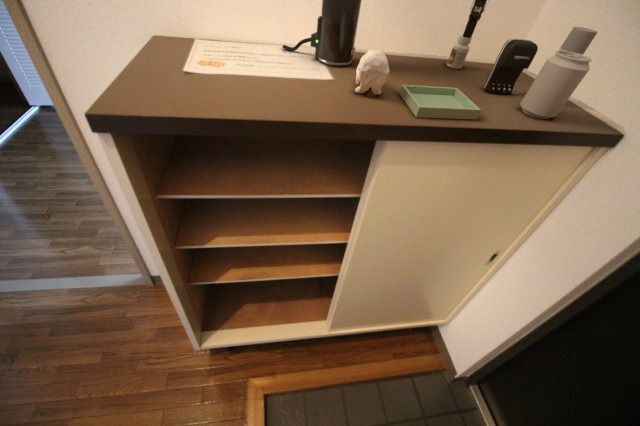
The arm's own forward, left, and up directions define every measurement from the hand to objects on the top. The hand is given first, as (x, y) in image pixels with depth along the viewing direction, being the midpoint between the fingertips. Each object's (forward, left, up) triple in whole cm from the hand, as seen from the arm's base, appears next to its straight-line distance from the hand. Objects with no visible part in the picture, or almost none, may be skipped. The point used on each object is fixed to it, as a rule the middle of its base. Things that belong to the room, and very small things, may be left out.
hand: (467, 34), depth 77 cm
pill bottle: (0, 0, -9) cm, 9 cm away
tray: (-1, -33, -8) cm, 34 cm away
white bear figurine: (-17, -33, -9) cm, 38 cm away
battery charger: (+12, -14, -9) cm, 20 cm away
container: (+22, -12, -9) cm, 26 cm away
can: (+20, -22, -9) cm, 31 cm away
